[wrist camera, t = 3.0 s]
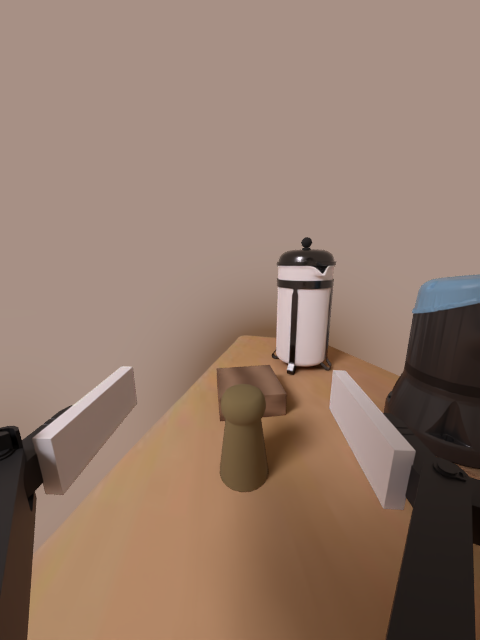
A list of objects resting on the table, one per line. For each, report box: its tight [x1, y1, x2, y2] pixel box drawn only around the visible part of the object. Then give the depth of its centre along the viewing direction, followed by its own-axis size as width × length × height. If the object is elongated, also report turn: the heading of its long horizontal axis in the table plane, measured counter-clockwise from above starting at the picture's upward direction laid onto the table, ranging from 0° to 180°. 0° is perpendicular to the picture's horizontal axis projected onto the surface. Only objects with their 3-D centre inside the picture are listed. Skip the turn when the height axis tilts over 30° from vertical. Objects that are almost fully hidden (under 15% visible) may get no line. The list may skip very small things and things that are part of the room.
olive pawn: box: [220, 384, 268, 492], centre depth 28 cm, size 6×6×11 cm
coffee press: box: [272, 237, 336, 375], centre depth 57 cm, size 17×16×30 cm
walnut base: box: [217, 365, 287, 421], centre depth 44 cm, size 11×11×4 cm
